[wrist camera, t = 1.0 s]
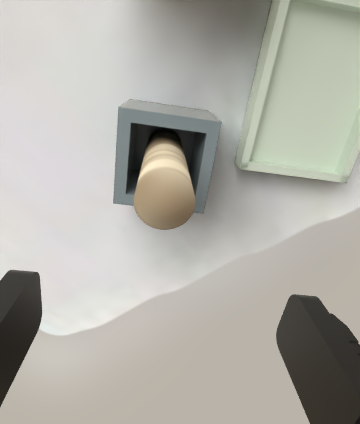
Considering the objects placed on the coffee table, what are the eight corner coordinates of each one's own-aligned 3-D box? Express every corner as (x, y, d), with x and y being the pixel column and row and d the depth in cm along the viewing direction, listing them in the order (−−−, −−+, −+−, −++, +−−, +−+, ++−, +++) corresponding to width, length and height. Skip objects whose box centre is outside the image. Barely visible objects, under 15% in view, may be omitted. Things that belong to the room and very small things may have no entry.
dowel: (149, 125, 30) (136, 168, 16) (184, 130, 30) (200, 177, 16) (145, 160, 31) (131, 226, 17) (178, 164, 31) (190, 232, 18)
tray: (274, -12, 26) (285, -20, 24) (397, 13, 27) (418, 7, 25) (234, 162, 32) (239, 169, 30) (334, 175, 34) (346, 183, 31)
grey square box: (129, 98, 29) (118, 107, 22) (207, 110, 30) (221, 122, 23) (124, 174, 32) (113, 203, 25) (194, 183, 33) (203, 213, 26)
